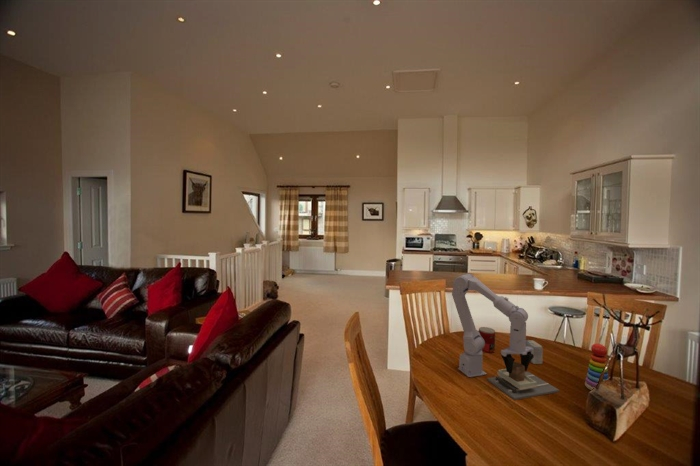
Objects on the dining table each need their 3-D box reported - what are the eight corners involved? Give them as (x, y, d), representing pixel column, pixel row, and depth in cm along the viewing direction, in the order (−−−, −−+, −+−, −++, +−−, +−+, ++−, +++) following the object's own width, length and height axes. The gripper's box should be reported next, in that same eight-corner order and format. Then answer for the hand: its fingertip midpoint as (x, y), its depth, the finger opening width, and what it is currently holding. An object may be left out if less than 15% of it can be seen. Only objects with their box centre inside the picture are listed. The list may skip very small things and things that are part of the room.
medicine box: (542, 364, 145) (543, 346, 144) (533, 364, 145) (533, 346, 145) (533, 357, 153) (533, 340, 152) (524, 356, 153) (524, 340, 152)
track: (514, 400, 116) (514, 394, 116) (487, 379, 130) (487, 374, 130) (559, 391, 122) (559, 386, 122) (528, 373, 136) (528, 368, 136)
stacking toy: (614, 396, 119) (617, 349, 118) (591, 393, 121) (593, 347, 120) (602, 385, 127) (604, 341, 126) (580, 383, 129) (582, 339, 128)
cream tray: (520, 392, 118) (520, 384, 118) (497, 376, 130) (497, 370, 130) (536, 389, 120) (536, 382, 120) (512, 374, 132) (512, 367, 132)
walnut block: (516, 381, 123) (516, 367, 122) (508, 376, 126) (509, 362, 126) (524, 380, 124) (524, 366, 123) (516, 375, 127) (516, 361, 127)
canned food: (492, 354, 155) (493, 333, 154) (476, 350, 160) (477, 329, 159) (496, 349, 161) (496, 329, 161) (480, 345, 166) (480, 325, 165)
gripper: (510, 344, 118) (509, 378, 119) (540, 340, 122) (538, 373, 123) (497, 337, 125) (496, 369, 126) (525, 334, 129) (524, 365, 130)
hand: (516, 370), depth 125 cm, fingers open, 7 cm apart
